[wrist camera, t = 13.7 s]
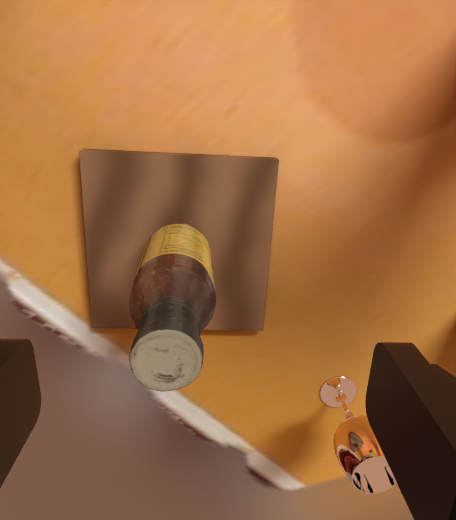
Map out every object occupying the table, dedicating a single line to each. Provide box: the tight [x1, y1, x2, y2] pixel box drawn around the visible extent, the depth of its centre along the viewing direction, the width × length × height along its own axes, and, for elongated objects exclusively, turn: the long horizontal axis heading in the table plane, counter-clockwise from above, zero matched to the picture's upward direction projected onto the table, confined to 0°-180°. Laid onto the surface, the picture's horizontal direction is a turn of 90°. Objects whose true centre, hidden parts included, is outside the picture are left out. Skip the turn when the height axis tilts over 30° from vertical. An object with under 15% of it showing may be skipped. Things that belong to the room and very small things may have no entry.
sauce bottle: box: [129, 222, 216, 391], centre depth 32 cm, size 7×6×20 cm
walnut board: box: [79, 149, 279, 331], centre depth 42 cm, size 18×18×2 cm
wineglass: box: [320, 376, 396, 494], centre depth 45 cm, size 6×6×12 cm
